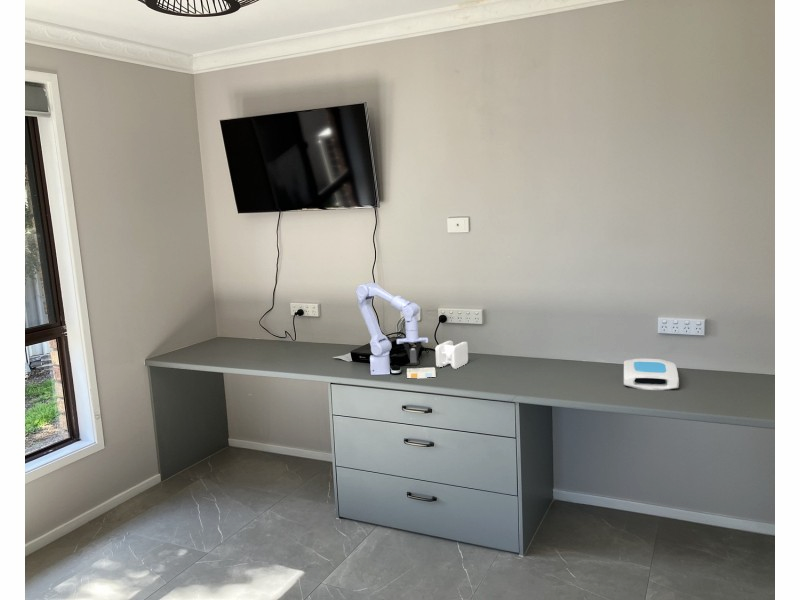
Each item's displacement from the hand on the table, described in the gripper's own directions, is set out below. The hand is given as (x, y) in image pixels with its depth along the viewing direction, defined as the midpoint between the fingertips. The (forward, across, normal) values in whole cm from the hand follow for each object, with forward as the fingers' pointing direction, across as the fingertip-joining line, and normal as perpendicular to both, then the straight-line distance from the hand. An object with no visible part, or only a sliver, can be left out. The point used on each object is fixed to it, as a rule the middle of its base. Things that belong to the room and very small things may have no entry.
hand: (413, 357), depth 294 cm
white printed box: (+9, +3, 0) cm, 9 cm away
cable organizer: (+9, +19, +15) cm, 26 cm away
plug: (+2, 0, 0) cm, 2 cm away
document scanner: (+10, +102, -22) cm, 104 cm away
